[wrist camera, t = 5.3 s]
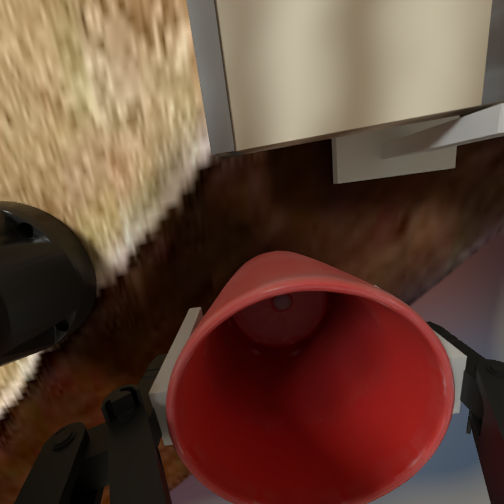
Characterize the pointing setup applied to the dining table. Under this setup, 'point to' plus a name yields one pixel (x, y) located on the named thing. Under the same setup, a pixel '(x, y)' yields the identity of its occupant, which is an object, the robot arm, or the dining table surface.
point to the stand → (412, 146)
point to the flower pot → (307, 388)
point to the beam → (341, 66)
